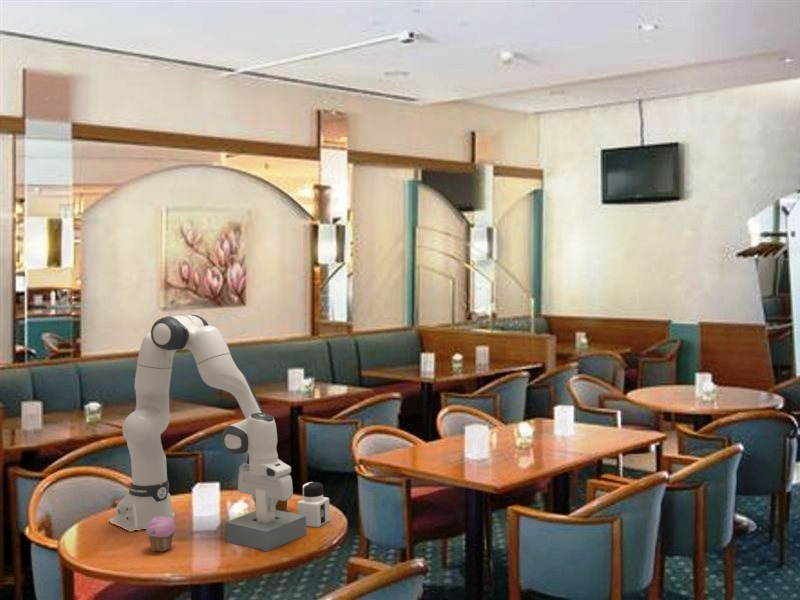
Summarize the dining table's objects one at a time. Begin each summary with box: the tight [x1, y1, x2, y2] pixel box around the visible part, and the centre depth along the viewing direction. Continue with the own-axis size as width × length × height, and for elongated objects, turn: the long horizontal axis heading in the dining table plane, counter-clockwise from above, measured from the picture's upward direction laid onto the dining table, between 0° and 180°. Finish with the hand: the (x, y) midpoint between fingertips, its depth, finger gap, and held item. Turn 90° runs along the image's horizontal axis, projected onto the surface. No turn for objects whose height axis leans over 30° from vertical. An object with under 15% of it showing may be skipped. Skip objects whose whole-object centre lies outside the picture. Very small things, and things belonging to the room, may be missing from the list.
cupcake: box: [145, 516, 177, 552], centre depth 272 cm, size 9×9×10 cm
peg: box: [255, 489, 275, 523], centre depth 280 cm, size 4×4×14 cm
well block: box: [224, 510, 307, 552], centre depth 280 cm, size 18×18×6 cm
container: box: [296, 481, 331, 528], centre depth 293 cm, size 8×8×13 cm
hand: (265, 510), depth 280 cm, fingers closed on peg, 4 cm apart
